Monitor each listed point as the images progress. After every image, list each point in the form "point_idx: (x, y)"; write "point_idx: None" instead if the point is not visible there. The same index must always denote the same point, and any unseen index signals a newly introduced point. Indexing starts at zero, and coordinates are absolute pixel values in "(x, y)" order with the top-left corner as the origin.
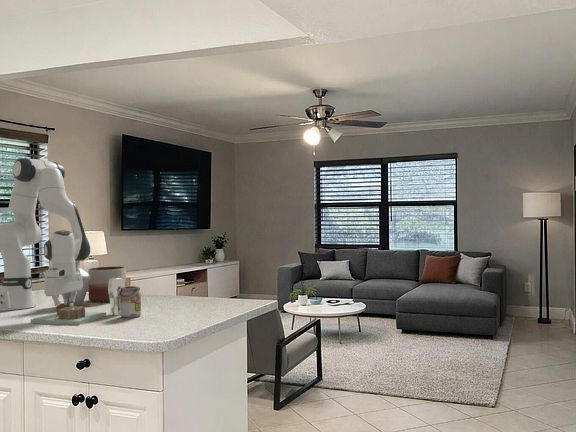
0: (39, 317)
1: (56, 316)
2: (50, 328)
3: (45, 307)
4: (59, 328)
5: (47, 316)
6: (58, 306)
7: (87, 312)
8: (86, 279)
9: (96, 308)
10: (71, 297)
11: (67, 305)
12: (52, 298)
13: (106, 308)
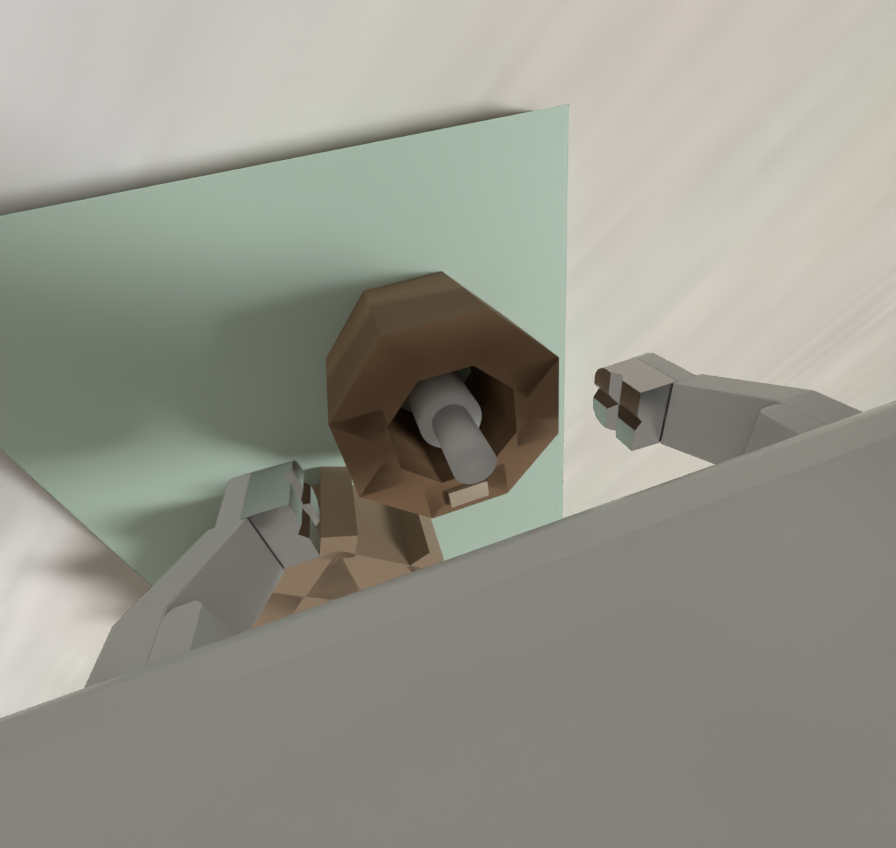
0: (34, 247)
1: (267, 408)
2: (18, 645)
3: None
4: (87, 674)
5: (184, 301)
6: (333, 430)
7: (546, 476)
8: None
9: (884, 213)
10: (676, 402)
11: (412, 508)
12: (126, 616)
13: (849, 310)
